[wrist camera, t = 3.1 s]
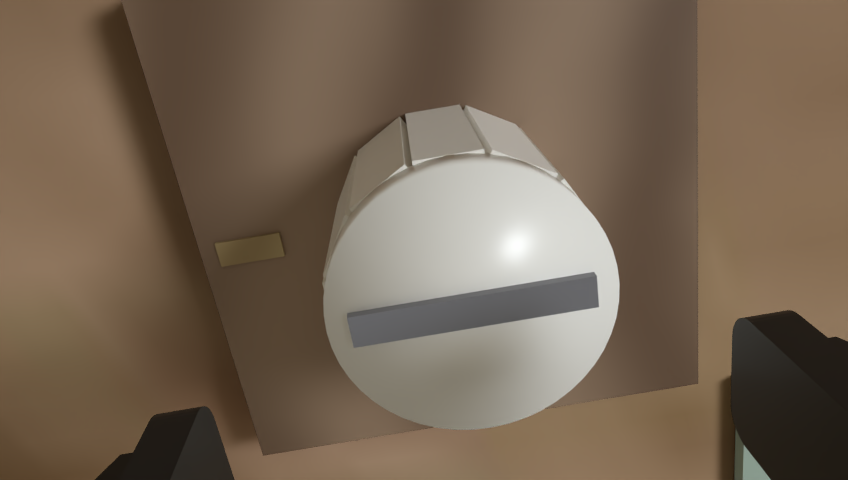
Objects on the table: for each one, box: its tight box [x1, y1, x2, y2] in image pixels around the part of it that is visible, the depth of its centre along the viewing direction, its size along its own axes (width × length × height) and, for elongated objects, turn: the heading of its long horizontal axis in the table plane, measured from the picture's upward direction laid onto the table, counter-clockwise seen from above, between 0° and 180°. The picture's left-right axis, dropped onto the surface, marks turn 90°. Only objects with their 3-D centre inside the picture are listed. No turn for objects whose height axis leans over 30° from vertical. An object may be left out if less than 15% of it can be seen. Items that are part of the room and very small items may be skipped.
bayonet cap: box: [322, 105, 620, 430], centre depth 16 cm, size 6×6×6 cm
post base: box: [121, 0, 698, 455], centre depth 17 cm, size 14×14×6 cm
